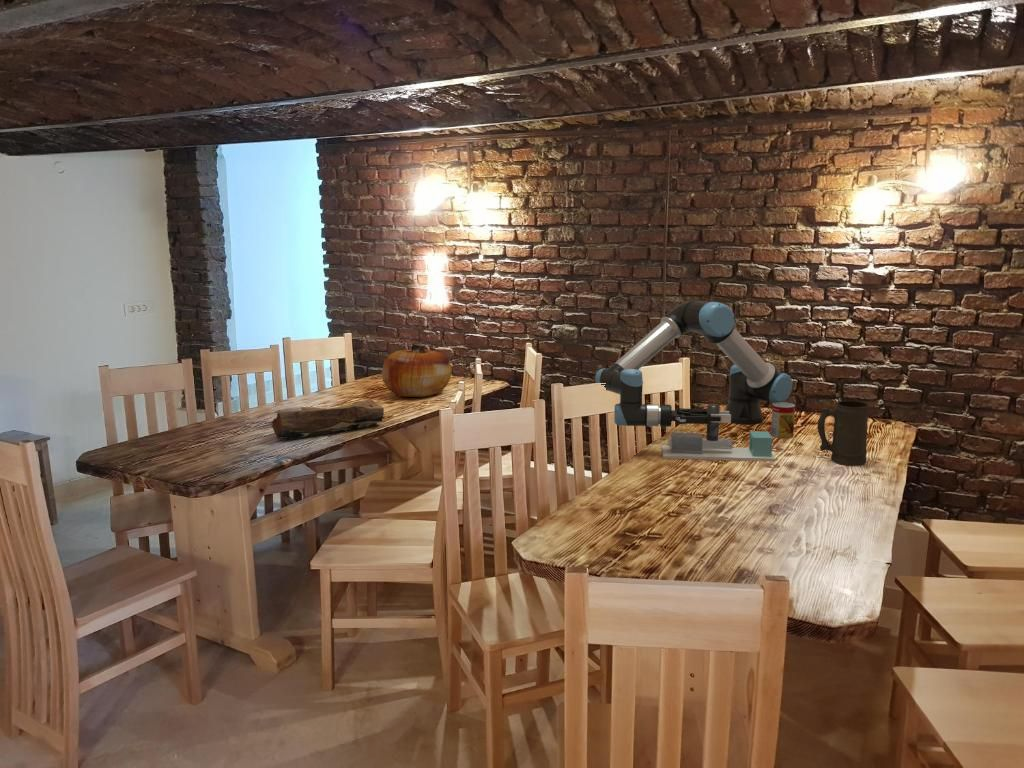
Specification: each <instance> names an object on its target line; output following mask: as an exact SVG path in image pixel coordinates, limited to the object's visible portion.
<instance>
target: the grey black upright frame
mask: <svg viewBox="0 0 1024 768" xmlns="http://www.w3.org/2000/svg"><path fill="white" fill-rule="evenodd" d="M720 406H721V405H720V404H718V403H716V404H715V403H709V404H707V406H706V409H707V415H711V414H719V413H720V411H721V410H720ZM719 432H720V422H711V425H709V424H706V435H705V436H706V437H702V449H727V450H732V447H733V443H734V441H733V439H732V438H723V437H722V438H719V436H720V435H719V434H720V433H719ZM668 446H669V448H672V437H671V436H669V437H668Z"/></svg>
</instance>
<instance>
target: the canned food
mask: <svg viewBox="0 0 1024 768" xmlns="http://www.w3.org/2000/svg"><path fill="white" fill-rule="evenodd" d="M795 413H796V404H794V403H791V402H786V401H784V402H777V403H772V409H771V427H770V435H771V437H772V438H775V439H781V440H782V439H783V440H790V439H793V438H794V430H795V415H796V414H795Z"/></svg>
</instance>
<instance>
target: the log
mask: <svg viewBox="0 0 1024 768" xmlns="http://www.w3.org/2000/svg"><path fill="white" fill-rule="evenodd" d="M300 409H301V410H289V411H287V410H286V411H279V412H277V414H276V417H275V418H274V419H273V420H272V421H271V423H270V425H271V427H272V430H273V432H274V434H275V436H276V438H285V439H289V440H296V439H299V438H304V437H307V438H309V437H316V436H321V435H327V434H335V433H339V432H349V431H356V430H357V431H358V430H362V429H365V428H367V427H369V426H371V425H374V424H377V423H379V422H380V423H381V422H383V419H384V415H385V414H384V413H385V410H384V407H383V406H381V405H380V404H378V403H376V402H375V401H374V400H373V399H371V398H368V399H364V400H361V401H354V402H353V403H352V404H348V405H343V406H337V407H336V406H335V407H330V408H326V407H325V408H323V407H314V406H308V407H307V406H305V407H304V406H300Z"/></svg>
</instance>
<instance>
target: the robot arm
mask: <svg viewBox="0 0 1024 768" xmlns="http://www.w3.org/2000/svg"><path fill="white" fill-rule="evenodd" d="M734 317H735V314H734V312H733V310H732V308H730V307H729V306H728V305H727V304H725V303H722V302H717V301H708V300H707V301H706V300H705V301H704V300H698V299H697V300H696V299H690V300H687V301H684V302H682V303H680V304H678V305H677V306H674V307H673V308H672V309H670V310H669V311H668V312H667V313H666V314H665V315H663V316H662V318H660V323H659V324H658V325H657V326H655V327H654V328H653V329H652V330H650V331H649V332H648V333H647V334H646V335H645V336H644V337H643V338H642V339H640V340H639V341H638V342H637V343H636V344H635V345H634V346H632V347H631V348H630V349H629V350H628V351H627V352H626V353H624V355H622V356H621V357H620V358H619V359H618V360H616V362H614V363H613V364H612V365H611V366H610V367H606V368H604V367H603V368H600V369H599V370H597V372H596V374H595V377H594V381H595V384H596V383H606V384H601V385H605V386H604V387H605V388H606V390H605V391H607V392H611V393H615V394H618V395H619V403H616V404H614V418H613V419H614V424H615V425H617V426H626V427H649V428H650V429H651V428H653V427H659V426H661V427H671V426H672V422H677V423H678V424H680V425H687V424H688V425H690V424H691V425H692V424H693V425H694V424H695V425H707V424H709V425H711V422H719V424H720V423H727V424H729V423H730V424H734V425H741V426H742V425H748V426H749V425H758V424H759V425H760V424H761V423H763V421H764V415H763V413H762V409H761V404H760V400H761V401H764V402H769V403H771V404H773V403H777V402H786V401H787V400H788V398H789V397H790V395H791V393H792V390H793V380H792V377H791V376H790V375H789V374H787V373H785V372H780V371H779V370H778V368H776V367H775V366H774V365H773V364H772V363H770V362H766V361H764V360H763V359H762V357H761V356H760V355H759V354H758V353H757V352H756V351H755V349H754V348H753V347H752V346H751V345H750V344H749V343H748V342H747V341H746V339H745V338H744V337H743V336H742V334H740V333H739V331H738V330H737V329H736V322H735V321H736V320H735V318H734ZM687 333H694V334H695V333H696V334H700V335H701V336H702V337H703V338H704V339H705V341H707V342H708V343H709V344H711V345H716V346H717V347H718V348H719V349H720V350H721V352H723V354H725V355H726V357H728V359H729V360H730V361H731V362H732V363H733V365H732V366H731V367H730V369H729V371H730V372H729V377H728V378H729V381H728V384H729V386H728V402H727V405H726V407H725V410H720V413H719V414H711V415H707V408H683V407H677V409H675V410H673V409H672V405H671V404H660V405H659V404H656V403H655V404H651V403H650V404H645V403H643V386H644V385H643V384H644V379H643V372H642V371H641V370H640V369H641V368H642V367H643V366H644V365H646V364H647V363H648V362H649V361H650V360H651V359H653V358H654V356H656V355H657V354H658V353H659V352H660V351H662V350H663V349H664V348H665V347H666V346H668V344H669V343H671V342H672V341H673V340H674V339H679V338H680V337H682V336H683V335H685V334H687Z"/></svg>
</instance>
